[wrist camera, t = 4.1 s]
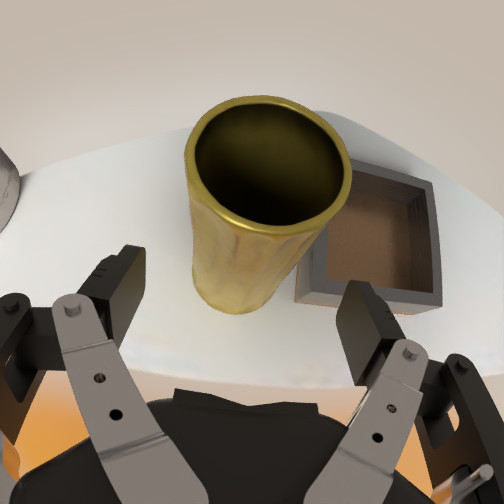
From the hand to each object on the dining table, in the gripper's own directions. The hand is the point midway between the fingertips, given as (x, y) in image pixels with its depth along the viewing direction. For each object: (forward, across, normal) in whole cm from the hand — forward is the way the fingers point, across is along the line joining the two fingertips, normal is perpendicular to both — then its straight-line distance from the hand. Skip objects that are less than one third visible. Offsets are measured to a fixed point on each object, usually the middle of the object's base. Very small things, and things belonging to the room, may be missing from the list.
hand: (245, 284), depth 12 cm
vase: (+10, 0, +5) cm, 11 cm away
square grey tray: (+12, -10, +2) cm, 15 cm away
